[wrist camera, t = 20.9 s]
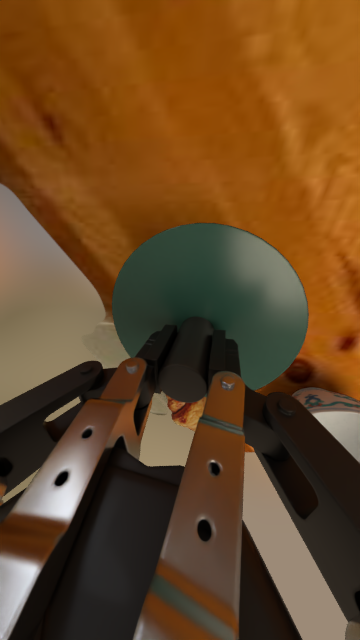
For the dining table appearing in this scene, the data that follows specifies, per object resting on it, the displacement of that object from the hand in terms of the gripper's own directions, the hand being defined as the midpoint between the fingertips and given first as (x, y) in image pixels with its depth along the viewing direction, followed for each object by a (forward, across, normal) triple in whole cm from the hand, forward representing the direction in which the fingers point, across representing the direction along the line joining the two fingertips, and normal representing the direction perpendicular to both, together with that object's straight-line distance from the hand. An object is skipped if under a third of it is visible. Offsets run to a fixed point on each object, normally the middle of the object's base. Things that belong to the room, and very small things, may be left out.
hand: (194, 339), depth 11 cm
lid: (+2, 0, 0) cm, 2 cm away
